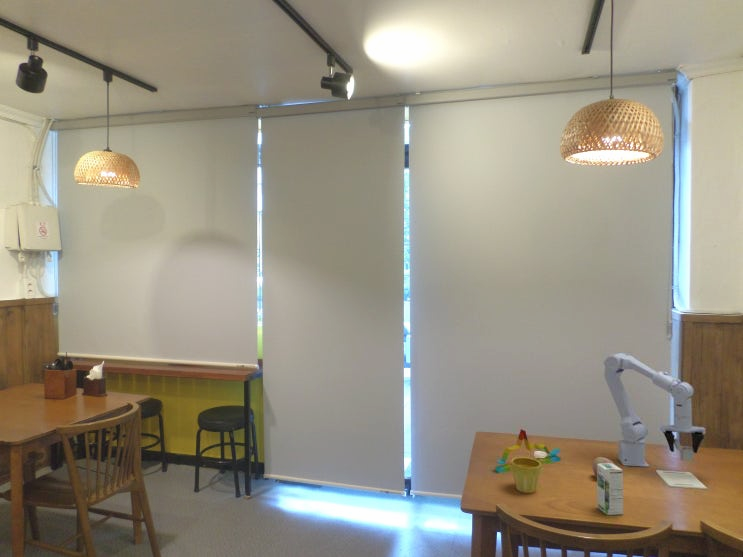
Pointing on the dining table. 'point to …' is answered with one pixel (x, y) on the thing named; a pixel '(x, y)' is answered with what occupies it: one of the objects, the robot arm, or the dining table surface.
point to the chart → (522, 435)
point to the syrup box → (610, 489)
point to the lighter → (685, 451)
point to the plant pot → (525, 473)
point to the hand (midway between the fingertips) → (683, 451)
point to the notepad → (680, 479)
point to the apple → (599, 461)
